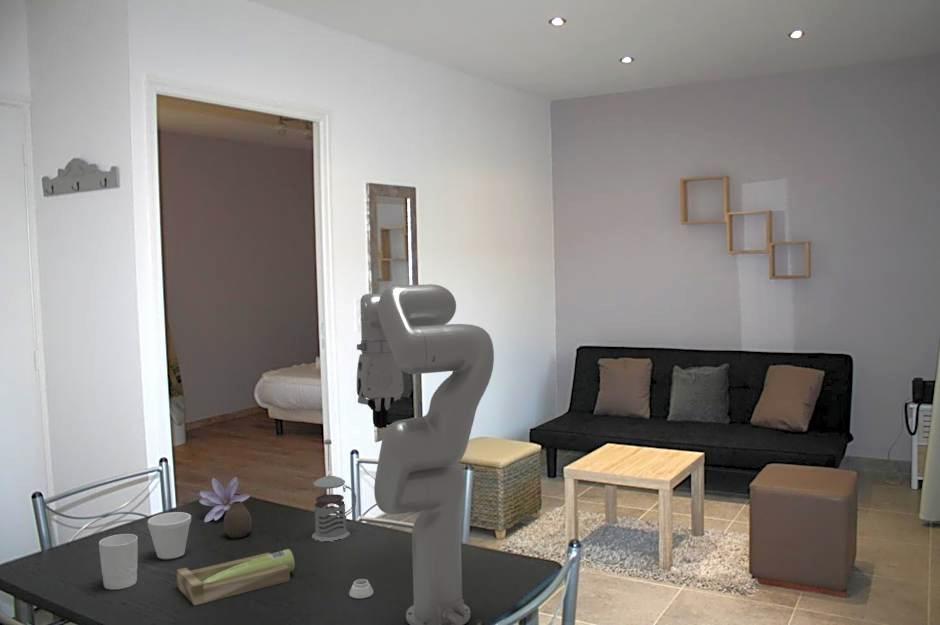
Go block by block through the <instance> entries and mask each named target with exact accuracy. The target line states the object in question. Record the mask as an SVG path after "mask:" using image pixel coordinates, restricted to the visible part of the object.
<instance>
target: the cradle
mask: <svg viewBox="0 0 940 625" xmlns="http://www.w3.org/2000/svg"><path fill="white" fill-rule="evenodd" d="M269 554H271V552H265V553H261V554H257V555H252V556H248V557H244V558H243V557H242V558H239V559H235V560H232V561H226V562H222V563H218V564H214V565H209V566H205V567H201V568H196V569H193V570H189V568H187V567H182V568H178V569H176V586H177V587H176V588H178V589H179V591H180V592H181V593H182V594H183V595H184V596H185V597H186V599H187V600H189V601H190V602H191V604H193V606H198V605H201V604H205V603H206V604H207V603H210V602H213V601H214V602H215V601H217V600H222V599H225V598H229V597H233V596H237V595H240V594H245V593H248V592H253V591H256V590H260V589H264V588H268V587H272V586H276V585H279V584H283V583H287V582H291V571H290V567H288V566H287V565H284V566H280V567H276V568H272V569H268V570H264V571H259V572H255V573H251V574H247V575H243V576H239V577H235V578H231V579H227V580H223V581H219V582H215V583H202V582H203V581H204V580H206V579H207V578H209V577H211V576H213V575H215V574H217V573H219V572H222V571H224V570H226V569H229V568H231V567H234V566H236V565H239V564H242V563H244V562H247V561H250V560H253V559H256V558H259V557H262V556H266V555H269Z"/></svg>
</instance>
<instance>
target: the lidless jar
mask: <svg viewBox="0 0 940 625" xmlns="http://www.w3.org/2000/svg"><path fill="white" fill-rule="evenodd" d="M373 594H374V589H373V587H372V585H371V584H370V583H369V580H368V579H366V578H359V579H356V580H354V581H353V584H352V585H351V588H350V589H349V592H348V595H349V597H351V598H353V599H357V600H358V599H360V600H361V599H367V598H369V597H371V596H372V595H373Z"/></svg>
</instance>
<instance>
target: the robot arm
mask: <svg viewBox="0 0 940 625" xmlns="http://www.w3.org/2000/svg"><path fill="white" fill-rule="evenodd" d="M456 310H457V302H456V299H455V297H454V294H452V292H451V291H450V290H449V289H447V288H446V287H444V286H442V285H439V284H432V283H431V284H405V285H404V284H402V285H392V286H389V287H387V288H386V289H385V290H383V291H382V293H381V292H380V293H378V292H377V293H376V292H375V293H366V294H363V295H362V297H361V298H360V330H361V337H360V338H361V340H360V343H358V344H356V350H357V351H360V352H361V354H359V355H358V356H359V357H358V361H357V369H356V370H357V371H356V392H357V393H356V394H357V396H358V399H357V403H358V404H360V405H367V407H369V409H370V410H371V411H372V423H373V426H374V427H375V428H378V429H383V428H384V429H385V430H384V432H383V436H382V439H381V440H382V441H381V446H380V450H379V454H378V455H379V457H378V461H377V466H376V472H375V477H374V487H373V488H374V489H373V490H374V493H373V494H374V499H375V502H376V506H377V507H378V508H379V510H380V511H381V512H383V513H385V514H387V515H400V514H407V513H414V512H419V513H418V515H417V517H416V518H415V521H414V523H413V527H412V532H411V541H412V542H411V543H412V545H411V546H412V547H411V550H412V553H411V555H412V582H413V583H412V586H413V589H412V590H413V591H412V592H413V593H412V594H413V605H411V606H409V608H408V609H407V610H406V612H405V619H406V622H407V624H409V625H465V624H467V623H468V622H469V621H470V618H471V609H470V607H469V606H468V605H467V604H465V601H464V600H465V599H463V582H462V581H463V577H462V570H463V569H462V524H461V523H462V506H463V500H464V499H463V498H464V494H465V485H466V483H465V482H466V481H465V480H466V479H465V478H466V477H465V472H464V469H463V468H462V465H461V464H460V463H459V462H460V461H461V460H462V459H463V458H464V456H465V453H466V450H467V448H468V445H469V440H470V437H471V432H472V430H473V429H472V428H473V426H474V421H475V417H476V412H477V410H478V406H479V404H480V402H481V401H482V400H481V399H482V398H483V396H484V394H485V391H486V390H487V388H488V387H489V386H488V385H489V383H490V381H491V377H492V374H493V370H494V360H495V356H494V355H495V352H494V343H493V341H492V338H491V336H490V334H489V333H488V332H487V330H486V329H484V328H483V327H480V326H478V325H474V324H466V323H450V322H451V320H452V319H453V317H454V316H455V314H456ZM448 323H450V324H448ZM403 372H404V373H406V374H409V375H420V374H431V373H432V374H434V373H444V372H445V373H446V372H452V373H451V374H449V376H448V377H446V378H445V379H444V380H443V381H442V382H441V383H440V384H439V386H438V387H437V389H435V392H434V393H433V394H432V395H431V398H430V402H429V406H428V407H429V408H428V411H427V413H426V414H425V415H424V416H421V417H414V418H413V417H412V418H406V419H405V418H404V419H399V420H394V421H393V422H392V423H391V424H389V425H388V421H389V418H388V410H390V408H391V407H390V406H391V405H393V403H394V402H396V401H398V400H401V399H402V394H403V393H404V379H403V378H404V377H403Z"/></svg>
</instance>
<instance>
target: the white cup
mask: <svg viewBox="0 0 940 625" xmlns="http://www.w3.org/2000/svg"><path fill="white" fill-rule="evenodd" d="M138 540H139V538H138V535H136V534H134V533H122V534H121V533H120V534H114V535H110V536H106V537H104V538H101V539H100V540H99V541H98V548H99V557H100V558H99V559H100V560H99V561H100V566H101V575H102V580H103V587H104V589H107V590H122V589H126V588H129V587H132V586H134V585H135V584H136V583H137V582H138V560H139V559H138V557H139V556H138V553H139V552H138V549H139V548H138V547H139V545H138V542H139V541H138Z"/></svg>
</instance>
